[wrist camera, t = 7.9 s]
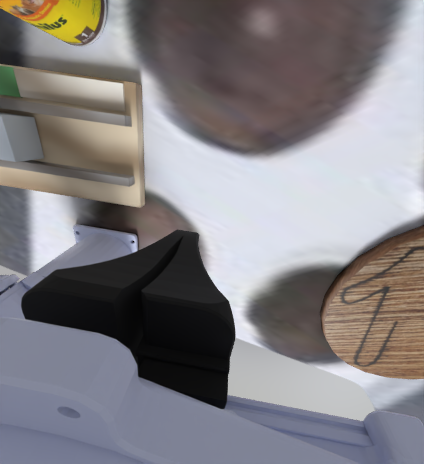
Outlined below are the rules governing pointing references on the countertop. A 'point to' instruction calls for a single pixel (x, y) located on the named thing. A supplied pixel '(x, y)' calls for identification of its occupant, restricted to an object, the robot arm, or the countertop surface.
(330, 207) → the countertop surface
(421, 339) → the trivet
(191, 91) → the countertop surface
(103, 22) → the supplement bottle
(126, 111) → the gauge base
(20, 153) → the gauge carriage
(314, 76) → the countertop surface
